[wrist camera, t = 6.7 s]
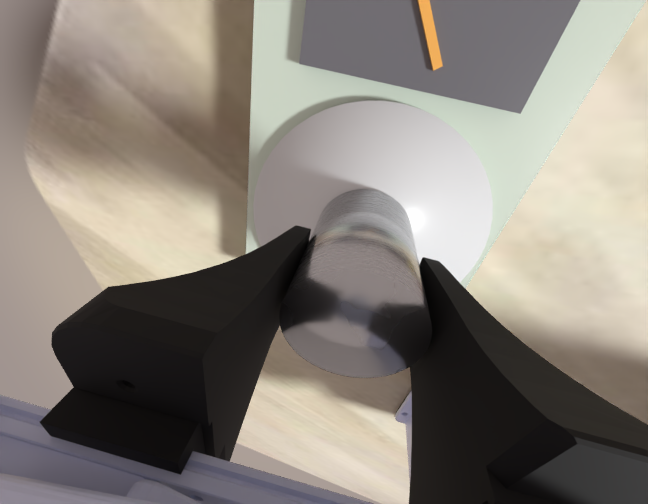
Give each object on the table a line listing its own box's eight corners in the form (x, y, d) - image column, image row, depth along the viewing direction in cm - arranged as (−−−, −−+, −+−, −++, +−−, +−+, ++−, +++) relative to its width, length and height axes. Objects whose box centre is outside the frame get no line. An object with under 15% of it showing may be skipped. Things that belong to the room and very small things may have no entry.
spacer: (392, 280, 14) (399, 391, 9) (310, 259, 14) (272, 356, 9) (427, 203, 12) (461, 296, 7) (327, 177, 12) (288, 250, 7)
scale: (428, 308, 19) (437, 348, 16) (259, 264, 19) (239, 295, 16) (603, -5, 10) (689, -37, 7) (282, -71, 10) (246, -124, 8)
